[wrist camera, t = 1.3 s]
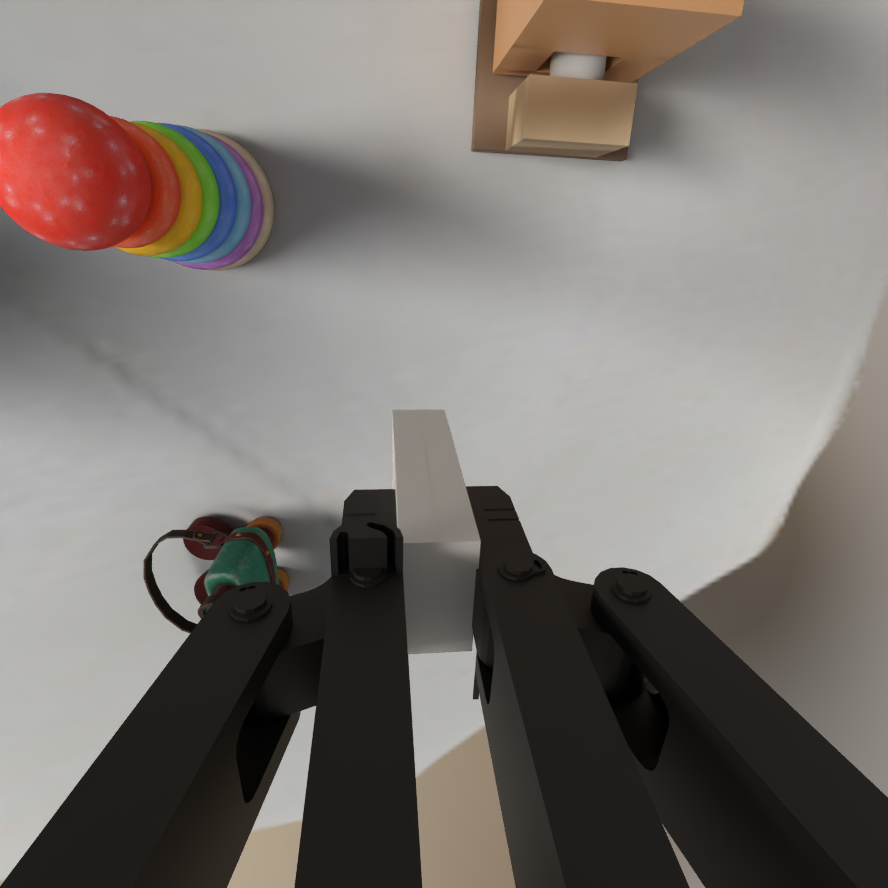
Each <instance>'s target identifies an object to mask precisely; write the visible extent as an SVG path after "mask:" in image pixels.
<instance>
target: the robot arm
mask: <svg viewBox="0 0 888 888" xmlns="http://www.w3.org/2000/svg"><path fill="white" fill-rule="evenodd" d="M330 555H331V572H332V577H331V578H330V579H329V580H327V581H326V582H325V583H324V584H322V585H321V586H319V587H317V588H315V589H313V590H310V591H307V592H304V593H300V594H296V595H293V596H289V594H288V592H287V591H286V590H285V589H283V588H282V587H281V586H280V585H277V584H273V583H269V582H251V583H247V584H242V585H238V586H236V587H234V588H232V589H230V590H228V591H226V592H224V593H223V594H222V595H221V596H220V597H219V598H218V599H217V600H216V601H215V602H214V603H213V604H212V606H211V607H210V608H209V610H208V611H207V612H206V614H205V615H204V616H203V618H202V619H201V620H200V622H199V623H198V624H197V626H196V627H195V628H194V630H193V631H192V632H191V634H190V635H189V636H188V638H187V639H186V640H185V642H184V643H183V644H182V646H181V647H180V648H179V650H178V651H177V652H176V654H175V655H174V656H173V658H172V659H171V660H170V662H169V663H168V664H167V666H166V667H165V668H164V670H163V671H162V672H161V674H160V675H159V676H158V678H157V679H156V680H155V682H154V683H153V684H152V685H151V687H150V688H149V689H148V691H147V692H146V693H145V695H144V696H143V697H142V699H141V700H140V701H139V703H138V704H137V705H136V707H135V708H134V709H133V711H132V712H131V713H130V715H129V716H128V717H127V719H126V720H125V721H124V723H123V724H122V725H121V727H120V728H119V729H118V731H117V732H116V733H115V735H114V736H113V737H112V739H111V740H110V741H109V743H108V744H107V745H106V747H105V748H104V749H103V751H102V752H101V753H100V755H99V756H98V757H97V759H96V760H95V761H94V763H93V764H92V765H91V767H90V768H89V769H88V771H87V772H86V773H85V775H84V776H83V777H82V778H81V780H80V781H79V782H78V784H77V785H76V786H75V788H74V789H73V790H72V792H71V793H70V794H69V796H68V797H67V798H66V800H65V801H64V802H63V804H62V805H61V806H60V808H59V809H58V810H57V812H56V813H55V814H54V816H53V817H52V818H51V820H50V821H49V822H48V824H47V825H46V826H45V828H44V829H43V830H42V832H41V833H40V834H39V836H38V837H37V838H36V840H35V841H34V842H33V844H32V845H31V846H30V848H29V849H28V850H27V852H26V853H25V854H24V856H23V857H22V858H21V860H20V861H19V862H18V864H17V865H16V866H15V868H14V869H13V870H12V871H11V873H10V874H9V875H8V877H7V878H6V879H5V881H4V882H3V883H2V885H1V886H0V888H227V886H228V884H229V881H230V879H231V877H232V874H233V872H234V869H235V867H236V865H237V862H238V860H239V858H240V856H241V853H242V851H243V849H244V846H245V844H246V841H247V839H248V837H249V834H250V832H251V830H252V828H253V825H254V823H255V821H256V818H257V816H258V814H259V811H260V809H261V807H262V804H263V802H264V800H265V797H266V795H267V793H268V790H269V788H270V786H271V783H272V781H273V779H274V776H275V774H276V772H277V769H278V767H279V765H280V762H281V760H282V758H283V755H284V753H285V751H286V748H287V746H288V744H289V741H290V739H291V737H292V734H293V732H294V730H295V727H296V725H297V723H298V720H299V717H300V712H301V710H304V709H307V708H310V707H313V706H316V713H315V721H314V729H313V738H312V746H311V754H310V763H309V771H308V780H307V788H306V796H305V805H304V813H303V821H302V830H301V838H300V847H299V855H298V864H297V872H296V880H295V888H422V877H421V862H420V844H419V828H418V812H417V797H416V796H417V795H416V778H415V762H414V745H413V729H412V713H411V696H410V680H409V663H408V654H420V653H440V652H460V651H472V643H473V634H474V639H475V644H476V649H477V655H476V666H475V678H474V690H473V699H478V698H479V694H480V699H481V705H482V710H483V715H484V721H485V726H486V731H487V736H488V742H489V747H490V753H491V758H492V763H493V768H494V774H495V779H496V784H497V790H498V795H499V800H500V805H501V811H502V816H503V821H504V827H505V832H506V837H507V843H508V848H509V854H510V858H511V864H512V870H513V875H514V880H515V886H516V888H689V885H688V883H687V881H686V879H685V876H684V874H683V871H682V869H681V867H680V865H679V862H678V860H677V858H676V855H675V853H674V851H673V848H672V846H671V844H670V841H669V839H668V837H667V835H666V832H665V830H664V828H663V825H664V827H665V828H666V830H667V831H668V833H669V834H670V836H671V837H672V839H673V840H674V842H675V843H676V845H677V846H678V847H679V849H680V850H681V852H682V853H683V855H684V856H685V858H686V859H687V861H688V862H689V864H690V865H691V867H692V868H693V870H694V871H695V873H696V874H697V876H698V877H699V879H700V880H701V882H702V883H703V885H704V886H705V887H706V888H888V797H887V796H886V795H884V794H883V793H882V792H881V791H880V790H879V789H878V788H877V787H876V786H875V785H874V784H873V783H872V782H871V781H870V780H869V779H867V778H866V777H865V776H864V775H863V774H862V773H861V772H860V771H859V770H858V769H857V768H856V767H855V766H854V765H853V764H852V763H850V762H849V761H848V760H847V759H846V758H845V757H844V756H843V755H842V754H841V753H840V752H839V751H838V750H837V749H836V748H835V747H834V746H832V745H831V744H830V743H829V742H828V741H827V740H826V739H825V738H824V737H823V736H822V735H821V734H820V733H819V732H818V731H817V730H815V729H814V728H813V727H812V726H811V725H810V724H809V723H808V722H807V721H806V720H805V719H804V718H803V717H802V716H801V715H800V714H799V713H798V712H796V711H795V710H794V709H793V708H792V707H791V706H790V705H789V704H788V703H787V702H786V701H785V700H784V699H782V698H781V697H780V695H778V694H777V693H776V692H775V691H774V690H773V689H772V688H771V687H770V686H769V685H768V684H767V683H765V681H764V680H762V679H761V678H760V677H759V676H758V675H757V674H756V673H755V672H754V671H753V670H752V669H751V668H750V667H749V666H748V665H747V664H746V663H745V662H743V661H742V660H741V659H740V658H739V657H738V656H737V655H736V654H735V653H734V652H733V651H732V650H731V649H730V648H729V647H727V646H726V645H725V644H724V643H723V642H722V641H721V640H720V639H719V638H718V637H717V636H716V635H715V634H714V633H713V632H712V631H711V630H710V629H708V628H707V627H706V626H705V625H704V624H703V623H702V622H701V621H700V620H699V619H698V618H697V617H696V616H695V615H694V614H693V613H692V612H690V611H689V610H688V609H687V608H686V607H685V606H684V605H683V604H682V603H681V602H680V601H679V600H678V599H677V598H676V597H675V596H673V595H672V594H671V593H670V592H669V591H668V590H667V589H666V588H665V587H664V586H663V585H662V584H661V583H659V582H658V581H657V580H655V579H654V578H652V577H651V576H650V575H647V574H645V573H642V572H640V571H638V570H634V569H628V568H610V569H607V570H605V571H602V572H600V573H599V575H598V576H597V577H596V578H595V582H594V585H591V584H585V583H580V582H575V581H570V580H566V579H563V578H560V577H558V576H555V575H554V574H553V571H552V569H551V568H550V566H549V565H548V564H547V562H546V561H545V560H544V559H542V558H541V557H539V556H537V555H536V554H533V552H532V550H531V547H530V545H529V543H528V540H527V538H526V535H525V533H524V530H523V528H522V525H521V523H520V521H519V518H518V516H517V513H516V511H515V508H514V506H513V503H512V501H511V498H510V496H509V495H507V494H506V493H505V492H504V491H503V490H501V489H500V488H499V487H498V486H469V487H466V486H465V482H464V479H463V475H462V471H461V468H460V464H459V461H458V457H457V453H456V450H455V446H454V443H453V439H452V435H451V432H450V428H449V424H448V421H447V417H446V414H445V410H393V489H378V490H354V491H353V492H352V493H351V494H350V495H349V497H348V498H347V499H346V500H345V501H344V510H343V518H342V525H341V526H340V527H338V528H337V529H336V530H335V531H333V533H332V535H331V538H330ZM661 822H662V823H661ZM662 824H663V825H662Z"/></svg>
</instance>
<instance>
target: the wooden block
mask: <svg viewBox="0 0 888 888" xmlns="http://www.w3.org/2000/svg"><path fill="white" fill-rule="evenodd" d="M743 5H744V0H497V14H496V30H495V45H494V60H493V74H503V75H515V76H526V77H528V76H529V74H534V75H545V76H549V73H550V63H551V54H552V53H553V52H554V51H556V52H567V53H578V54H588V55H599V56H607V58H606V66H605V74H604V81H615V82H626V83H632V82H633V81H635V80H637V79H638V78H640V77H641V76H643V75H645V74H646V73H648V72H650V71H651V70H653V69H655V68H656V67H658V66H660V65H661V64H663V63H665V62H666V61H668V60H670V59H671V58H673V57H675V56H676V55H678V54H680V53H681V52H683V51H685V50H686V49H688V48H690V47H691V46H693V45H694V44H696V43H698V42H699V41H701V40H703V39H704V38H706V37H708V36H709V35H711V34H713V33H714V32H716V31H718V30H719V29H721V28H723V27H724V26H726V25H728V24H729V23H731V22H733V21H734V20H736V19H738V18H739V17H741V16H742V10H743Z"/></svg>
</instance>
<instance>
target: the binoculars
mask: <svg viewBox="0 0 888 888" xmlns="http://www.w3.org/2000/svg"><path fill="white" fill-rule="evenodd" d="M281 537H282V528H281V525H280V524H279V523H278V522H277V521H276V520H274V519H272V518H269V517H260V518H257V519H255V520H253V521H252V522H250V523H249V524H248V525H247V526H246V527H241V528H237V529H235V530H233V529H232V528H231V527H230V526H229V525H228V524H226V523H225V522H223V521H221V520H219V519H216V518H213V517H200V518H198V519H196V520H195V521H194V522H193V523H192V524H191V525H190V526H189V528H188V529H187V530H172V531H170V532H168V533H167V534H165V535H163V536H162V537H160V538H159V539H158V540H157V542H156V543H155V544H154V545H153V547H152V548H151V550H150V551H149V553H148V554H147V556H146V558H145V559H144V580H145V583H146V586H147V589H148V592H149V594H150V596H151V598H152V600H153V602H154V604H155V605H156V607H157V608H158V609H159V610H160V612H161V613H162V614H163V616H164V617H165V618H166V619H167V620H169V621H170V622H171V623H173V624H174V625H175V626H177V627H178V628H179V629H181V630H182V631H185V632H188V633H191V632H192V631H193V630H194V628H195V627H196V626H197V624H195V623H192V622H190V621H188V620H186V619H185V618H184V617H182V616H181V615H180V614H178V613H177V612H176V611H174V610H173V609H172V608H171V607H170V605H169V604H168V603H167V601H166V600H165V599H164V597H163V596H162V594H161V592H160V590H159V588H158V586H157V584H156V581H155V578H154V575H153V572H152V553H153V551H154V550H155V548H156V547H157V545H158V543H160V542H161V541H163V540H165V539H167V538H183V540H184V544H185V546H186V548H187V549H188V550H189V551H190V552H191V553H192V554H193V555H194V556H196V557H198V558H201V559H204V560H214V562H213V564H212V566H211V568H210V569H209V570H207V571H206V572H205V573H204V574H203V575H202V576H200V577H199V579H198V580H197V581H196V583H195V587H194V592H195V596H196V598H197V600H198V601H199V603H200V604H201V606H200V608H199V609H198V615H199V617H200V618H201V619H202V618H203V616H204V615H205V614H206V612H207V611H208V610H209V608H210V607H211V606H212V604H213V603H214V602H215V601H216V600H217V599H218V598H219V597H220V596H221V595H222V594H223V593H224V592H226V591H228V590H230V589H232V588H234V587H236V586H238V585H242V584H247V583H251V582H269V583H273V584H277V585H280V586H281V587H282V588H283V589H285V590H286V591H287V588H288V586H289V577H288V575H287V574H286V573H285V572H284V571H283V570H280V569H277V563H276V558H275V553H274V549H275V548H276V547H277V546H278V544H279V542H280V539H281Z"/></svg>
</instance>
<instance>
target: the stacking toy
mask: <svg viewBox="0 0 888 888" xmlns="http://www.w3.org/2000/svg"><path fill="white" fill-rule="evenodd" d="M0 206H1V207H2V209H3V210H4V211H5V212H6V213H7V215H8V216H10V217H11V218H12V219H13V220H14V221H15V222H16V223H17V224H18V225H20V226H21V227H22V228H23V229H24V230H26V231H27V232H29V233H30V234H32V235H34V236H36V237H38V238H40V239H42V240H44V241H46V242H49V243H51V244H54V245H57V246H60V247H63V248H67V249H72V250H84V251H87V250H99V249H105V248H109V247H111V246H113V247H115V248H117V249H120V250H122V251H125V252H127V253H131V254H136V255H142V256H151V257H159V258H162V259H166V260H171V261H174V262H176V263H178V264H181V265H183V266H186V267H190V268H195V269H206V270H226V269H231V268H235V267H238V266H240V265H243V264H245V263H246V262H248V261H249V260H251V259H252V258H253V257H255V256H256V255H257V254H258V253H259V252H260V250H261V249H262V248H263V246H264V245H265V243H266V241H267V239H268V237H269V235H270V232H271V229H272V225H273V218H274V204H273V197H272V192H271V189H270V186H269V183H268V181H267V178H266V176H265V174H264V172H263V170H262V169H261V167H260V166H259V164H258V163H257V162H256V160H255V159H254V158H253V157H252V156H251V154H250V153H248V152H247V151H246V150H245V149H244V148H243V147H242V146H241V145H239V144H238V143H236V142H235V141H233V140H232V139H230V138H228V137H226V136H224V135H222V134H219V133H216V132H213V131H209V130H202V129H193V128H190V127H186V126H180V125H172V124H166V123H153V122H146V121H133V122H128V121H126V120H124V119H120V118H117V117H112V116H108V115H107V114H105V113H104V112H103V111H101V110H100V109H98V108H96V107H95V106H93V105H91V104H89V103H86V102H84V101H82V100H80V99H77V98H73V97H69V96H66V95H61V94H53V93H36V94H30V95H25V96H21V97H19V98H16V99H14V100H12V101H10V102H8V103H6V104H4V105H3V106H2V107H1V108H0Z"/></svg>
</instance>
